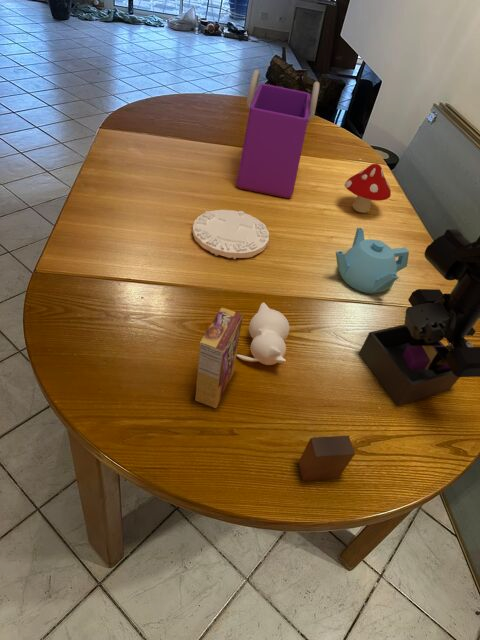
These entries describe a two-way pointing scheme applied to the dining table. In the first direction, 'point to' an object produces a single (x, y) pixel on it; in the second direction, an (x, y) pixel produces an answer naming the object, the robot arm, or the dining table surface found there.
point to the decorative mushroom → (368, 187)
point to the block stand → (325, 458)
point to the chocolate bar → (421, 357)
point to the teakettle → (370, 264)
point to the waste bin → (402, 366)
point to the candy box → (217, 356)
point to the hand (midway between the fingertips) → (425, 360)
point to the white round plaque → (230, 233)
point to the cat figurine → (268, 336)
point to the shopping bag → (274, 137)
